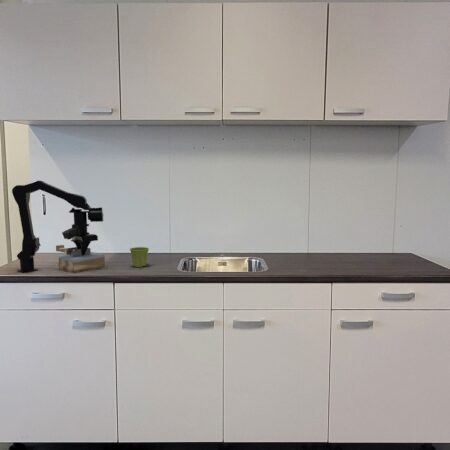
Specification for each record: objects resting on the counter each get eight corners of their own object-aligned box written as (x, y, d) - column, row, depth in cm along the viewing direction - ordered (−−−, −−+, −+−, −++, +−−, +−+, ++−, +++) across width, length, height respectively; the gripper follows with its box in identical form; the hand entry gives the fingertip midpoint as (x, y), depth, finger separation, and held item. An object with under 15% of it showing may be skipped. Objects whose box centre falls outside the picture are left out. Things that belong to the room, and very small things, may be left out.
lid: (59, 260, 173) (58, 250, 173) (89, 255, 186) (88, 245, 185) (74, 264, 165) (73, 253, 165) (104, 258, 178) (104, 248, 178)
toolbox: (56, 268, 175) (55, 249, 174) (86, 262, 188) (85, 245, 187) (74, 273, 166) (73, 253, 165) (105, 266, 179) (104, 248, 178)
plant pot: (150, 263, 186) (149, 246, 185) (148, 267, 177) (148, 250, 176) (131, 264, 185) (130, 247, 184) (128, 268, 175) (128, 250, 174)
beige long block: (56, 251, 186) (55, 245, 186) (61, 250, 189) (61, 244, 189) (68, 253, 180) (67, 247, 180) (73, 252, 182) (73, 247, 182)
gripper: (53, 222, 173) (55, 254, 174) (75, 224, 162) (77, 259, 163) (75, 220, 182) (76, 251, 183) (97, 222, 171) (99, 255, 172)
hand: (81, 254), depth 175 cm, fingers closed on lid
